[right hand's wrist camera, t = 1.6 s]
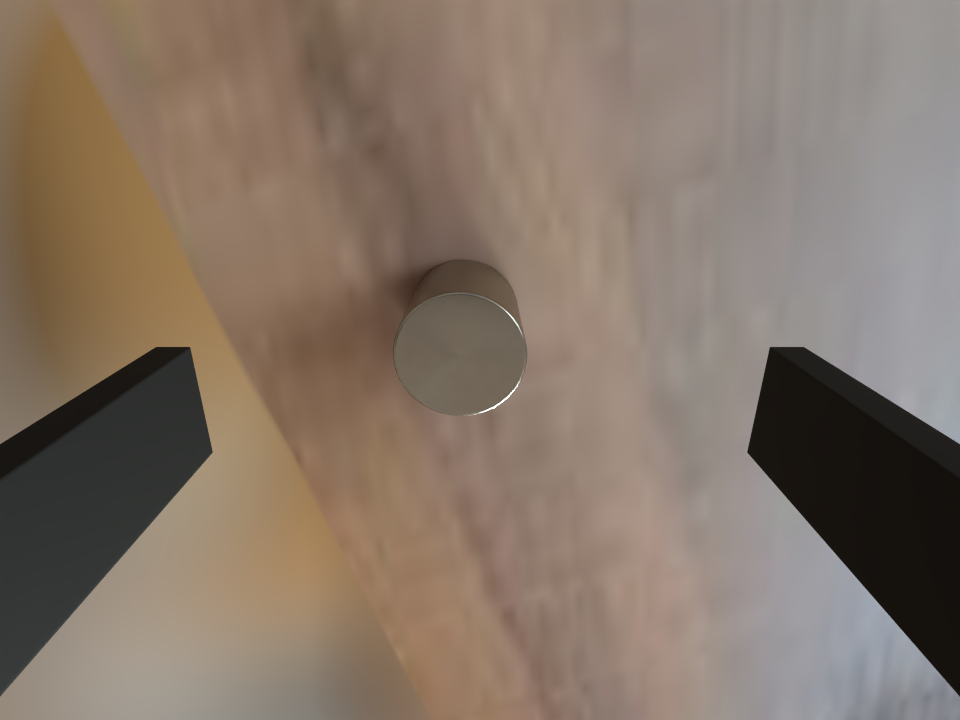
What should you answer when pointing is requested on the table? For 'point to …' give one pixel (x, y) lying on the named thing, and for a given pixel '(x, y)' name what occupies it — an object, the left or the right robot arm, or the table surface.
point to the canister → (461, 340)
